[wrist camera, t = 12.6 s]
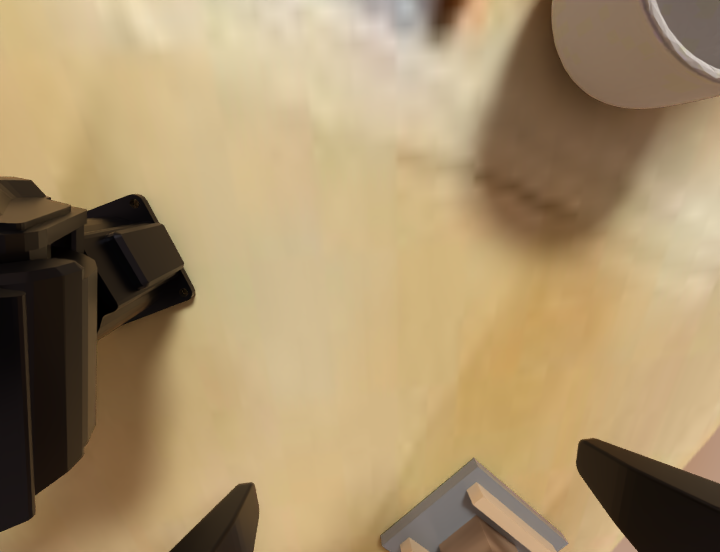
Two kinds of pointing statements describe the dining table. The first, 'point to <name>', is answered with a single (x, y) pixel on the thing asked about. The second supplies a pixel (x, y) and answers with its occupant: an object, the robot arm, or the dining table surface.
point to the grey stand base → (472, 515)
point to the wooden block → (477, 539)
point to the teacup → (640, 49)
